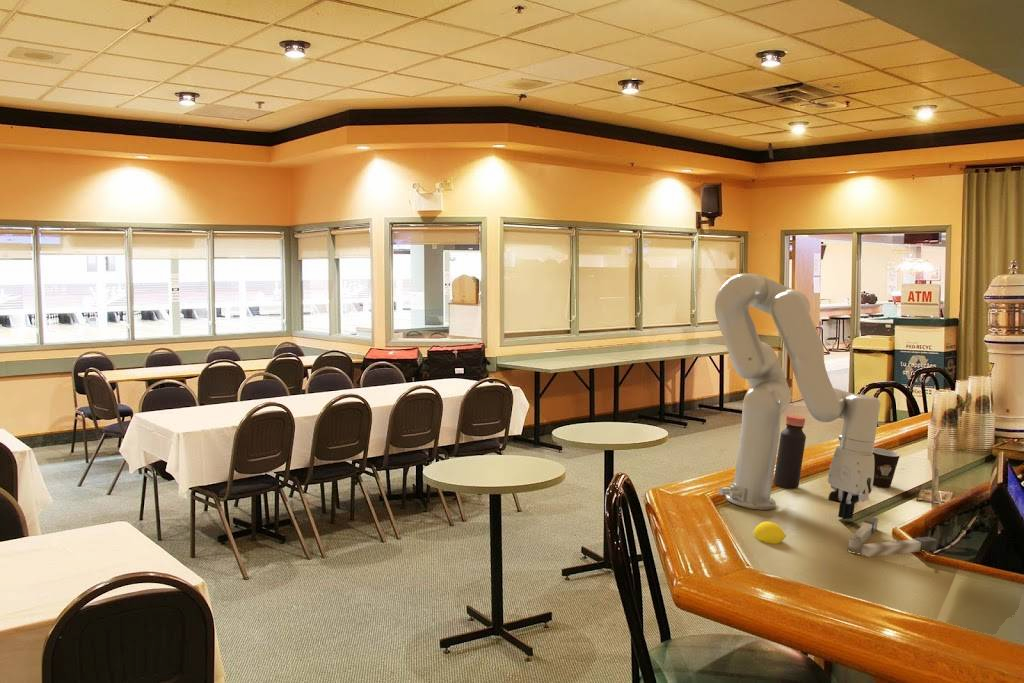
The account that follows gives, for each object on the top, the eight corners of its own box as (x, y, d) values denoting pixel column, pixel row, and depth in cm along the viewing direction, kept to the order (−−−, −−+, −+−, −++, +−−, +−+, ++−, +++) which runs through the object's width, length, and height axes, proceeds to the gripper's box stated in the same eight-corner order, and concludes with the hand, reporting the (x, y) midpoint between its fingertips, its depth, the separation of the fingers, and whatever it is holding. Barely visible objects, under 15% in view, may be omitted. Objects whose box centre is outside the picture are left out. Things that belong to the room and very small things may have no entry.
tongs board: (871, 571, 172) (874, 554, 172) (801, 536, 190) (803, 520, 190) (959, 561, 184) (962, 544, 184) (885, 528, 202) (887, 514, 202)
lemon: (750, 546, 181) (750, 522, 181) (756, 540, 186) (756, 517, 185) (782, 551, 177) (782, 527, 177) (788, 545, 182) (788, 521, 182)
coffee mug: (896, 485, 246) (901, 453, 244) (892, 491, 239) (897, 458, 237) (855, 475, 252) (860, 444, 251) (850, 481, 245) (855, 449, 243)
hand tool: (842, 508, 217) (845, 491, 217) (827, 503, 219) (830, 487, 219) (858, 494, 233) (860, 478, 232) (843, 490, 235) (846, 474, 234)
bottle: (803, 488, 232) (813, 419, 229) (788, 490, 228) (798, 420, 225) (783, 480, 237) (793, 413, 235) (768, 482, 233) (778, 414, 231)
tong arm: (860, 548, 182) (861, 537, 182) (849, 545, 183) (851, 534, 183) (876, 528, 197) (878, 518, 197) (866, 526, 198) (868, 516, 198)
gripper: (821, 437, 204) (811, 508, 206) (870, 454, 191) (858, 529, 193) (843, 437, 207) (832, 506, 209) (893, 453, 194) (881, 527, 196)
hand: (845, 517), depth 201 cm, fingers closed
